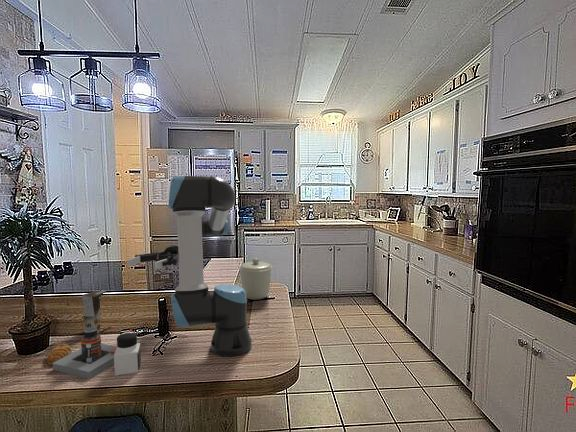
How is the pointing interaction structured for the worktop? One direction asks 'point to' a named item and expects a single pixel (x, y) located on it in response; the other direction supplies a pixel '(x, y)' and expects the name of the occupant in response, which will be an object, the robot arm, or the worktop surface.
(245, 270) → the canister
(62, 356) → the pastry
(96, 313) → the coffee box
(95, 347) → the supplement bottle
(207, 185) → the robot arm
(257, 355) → the worktop surface
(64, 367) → the socket plate
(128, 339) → the medicine bottle
